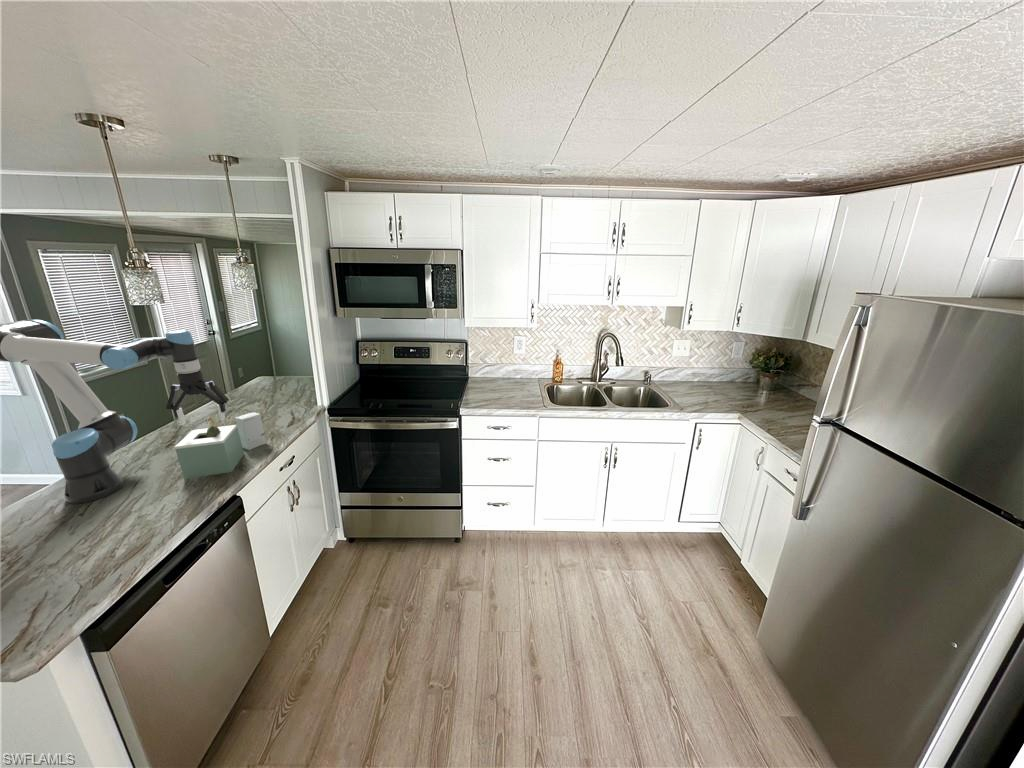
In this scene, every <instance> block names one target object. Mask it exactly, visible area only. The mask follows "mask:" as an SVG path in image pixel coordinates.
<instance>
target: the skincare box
mask: <svg viewBox="0 0 1024 768" xmlns="http://www.w3.org/2000/svg"><path fill="white" fill-rule="evenodd" d="M234 420H235V423H236V424H235V425H237V428H238V432H239V436H240V440H241V444H242V447H243V449H245V450H248V451H251V450H252V449H255V448H258V447H261V446H263V445H266V444H267V440H266V434H265V430H264V425H263V422H262V416H261V413H258V412H254V411H253V412H249V413H246V414H242V415H240V416H239V415H238V416H236V417H234Z"/></svg>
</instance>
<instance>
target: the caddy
mask: <svg viewBox="0 0 1024 768" xmlns="http://www.w3.org/2000/svg"><path fill="white" fill-rule="evenodd" d="M217 427H218V429H219V430H220V433H219V434H218V435H217V436H216V437H210V438H207V430H208V428H209V427H206V428H199V429H192V430H191V431H190V432H189V433H187V434H186V436H185V437H183V438H182V439H181V440H180V441H179V442H178V443H177V444H175V446H174V449H175V452H176V456H177V458H178V463H179V465H180V468H181V472H182V475H183V478H184V480H187V479H193V478H194V477H195V478H200V477H206V476H213V475H214V476H215V475H221V473H222V474H227V473H232V472H233V471H234V469H235V468H236V466H237V465H238V464H239V462H240V461H241V459H242V457H243V456H245V452H244V448H243V447H242V444H241V440H240V436H239V432H238V428H237V424H230V425H223V426H217Z"/></svg>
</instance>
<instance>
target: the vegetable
mask: <svg viewBox="0 0 1024 768" xmlns="http://www.w3.org/2000/svg"><path fill="white" fill-rule="evenodd" d="M207 421H208V422H209V423H210V424H209V427H207V428H208V430H207V438H210V437H216V436H217V435H218V434H219V433H220V430H219V429H218V427H219V426H217V423H216V421H215V419H214V418H212V417H209V418H208V419H207Z"/></svg>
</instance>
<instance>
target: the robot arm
mask: <svg viewBox="0 0 1024 768" xmlns="http://www.w3.org/2000/svg"><path fill="white" fill-rule="evenodd" d="M64 338H65V336H64V334H63V333H62V331H61V330H60V329H59V328H58V327H57V326H55V325H54V324H52V323H51V322H49V321H45V320H42V319H23V320H18V321H12V322H11V321H10V322H6V323H1V324H0V362H8V363H9V362H10V363H19V362H20V363H21V364H22V365H26V366H30V367H32V369H33V370H34V372H36V373H37V374H38V375H39V377H41V379H42V380H43V381H44V383H45V384H46V385H48V387H49V388H50V389H51V391H52V392H53V393H54V394H55V395H56V396H57V398H58V399H60V401H61V402H62V403H63V404H64V405H65V407H66V408H67V409H68V410H69V411H70V413H71V414H72V415H73V416H74V417H75V418H76V419H77V421H78V422H79V424H78V426H77V429H75V430H72V431H70V432H69V431H68V432H67V433H64V434H61V435H60V436H59V437H57V438H55V439H54V440H53V442H52V444H51V447H52V450H53V455H54V457H55V459H56V461H57V464H58V466H59V468H60V470H61V473H62V474H63V477H64V480H65V487H64V499H65V501H66V502H67V503H68V504H75V505H76V504H78V505H79V504H84V503H89V502H90V503H91V502H93V501H97V500H99V499H103V498H106V497H108V496H110V495H112V494H114V493H115V492H117V491H118V490H120V489H122V487H124V481H123V479H122V477H121V476H119V474H118V473H117V471H115V470H114V469H113V468H112V467H111V465H110V463H109V462H110V461H109V460H108V457H109V456H111V455H113V454H114V453H116V452H117V451H119V450H121V449H123V448H125V447H127V446H128V445H129V444H130V443H132V442H133V441H135V439H136V437H137V435H138V427H137V425H136V423H135V422H134V420H132V419H131V418H129V417H127V416H124V415H119V414H118V412H117V411H113V410H109V409H108V408H107V406H105V405H104V403H103V402H102V401H101V400H100V399H99V397H98V396H97V395H96V394H95V393H94V391H93V390H92V389H91V387H90V386H88V384H87V383H86V382H85V381H84V379H83V378H82V376H80V374H79V373H78V372H77V370H76V369H75V368H74V367H73V366H72V364H78V365H79V364H81V365H96V366H105V367H107V368H109V369H111V370H113V371H120V370H121V371H122V370H126V369H130V368H132V367H135V366H137V365H140V364H142V363H146V362H149V361H151V360H154V359H157V358H158V359H159V358H160V359H161V358H171V359H172V362H173V366H174V369H175V371H176V375H177V379H178V382H179V384H177V383H173V384H172V385H170V386H169V387H170V394H169V396H168V401H167V403H166V410H172V411H173V414H174V417H175V418H176V419H177V418H178V421H179V425H180V426H181V427H182V426H184V425H186V424H187V421H186V417H185V415H184V410H183V407H181V405H182V403H183V402H184V400H185V399H186V398H187V396H188V395H189V396H193V395H200V394H201V395H203V396H205V397H206V398H208V399H210V400H211V401H212V402H214V403H215V404H217V406H216V408H217V413H218V416H219V419H220V422H223V421H224V420H226V414H225V412H226V410H227V409H226V406H225V404H227V403H228V402H229V401H230V400H229V398H228V397H227V396H226V395H225V394H224V393H223V391H222V390H221V389H220V388H219V387H218V386H217V385H216V382H215V381H214V380H210V381H207V382H206V381H205V377H204V374H203V371H202V370H201V364H200V361H199V358H198V354H197V350H196V346H195V341H194V339H193V336H192V333H191V331H189V330H187V329H180V330H171V331H167V332H166V333H165V336H164V337H162V336H161V337H139V338H133V339H132V340H131V341H130V342H129V343H125V344H121V343H120V344H118V343H107V342H96V341H95V342H94V341H83V340H81V341H80V340H70V339H64ZM206 386H207V387H208V388H210V389H211V391H210V389H208V388H207V387H206ZM179 390H182V391H183V392H181V394H180V396H179V397H178V400H177V401H176V398H177V394H178V391H179ZM175 401H176V402H175Z"/></svg>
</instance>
